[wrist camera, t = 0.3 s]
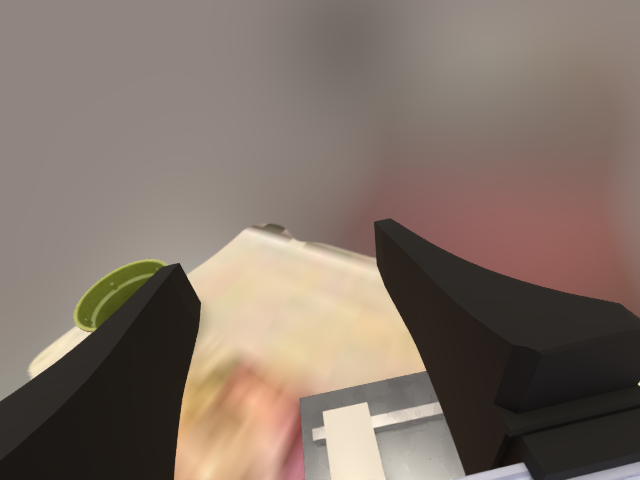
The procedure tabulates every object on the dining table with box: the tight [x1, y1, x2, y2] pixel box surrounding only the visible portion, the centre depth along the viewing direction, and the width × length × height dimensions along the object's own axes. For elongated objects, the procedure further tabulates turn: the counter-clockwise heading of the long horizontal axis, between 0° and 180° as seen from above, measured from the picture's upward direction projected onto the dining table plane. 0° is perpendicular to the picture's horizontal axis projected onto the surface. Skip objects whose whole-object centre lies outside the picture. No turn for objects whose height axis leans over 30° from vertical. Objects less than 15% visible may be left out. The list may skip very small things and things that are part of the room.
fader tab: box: [323, 402, 386, 480], centre depth 20 cm, size 4×3×5 cm
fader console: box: [300, 371, 466, 480], centre depth 22 cm, size 12×24×2 cm, turn 97°
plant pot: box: [74, 259, 168, 332], centre depth 34 cm, size 9×9×9 cm
